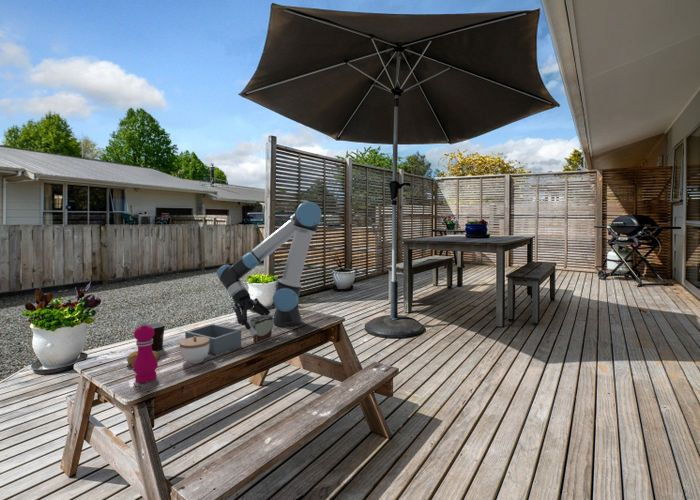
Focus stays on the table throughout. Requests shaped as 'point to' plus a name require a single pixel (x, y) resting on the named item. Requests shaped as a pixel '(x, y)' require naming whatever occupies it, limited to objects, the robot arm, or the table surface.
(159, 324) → the coffee mug
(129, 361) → the bagel
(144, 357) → the pepper mill
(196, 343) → the lidded jar
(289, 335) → the table surface
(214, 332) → the charcoal bin
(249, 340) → the table surface
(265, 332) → the food container
